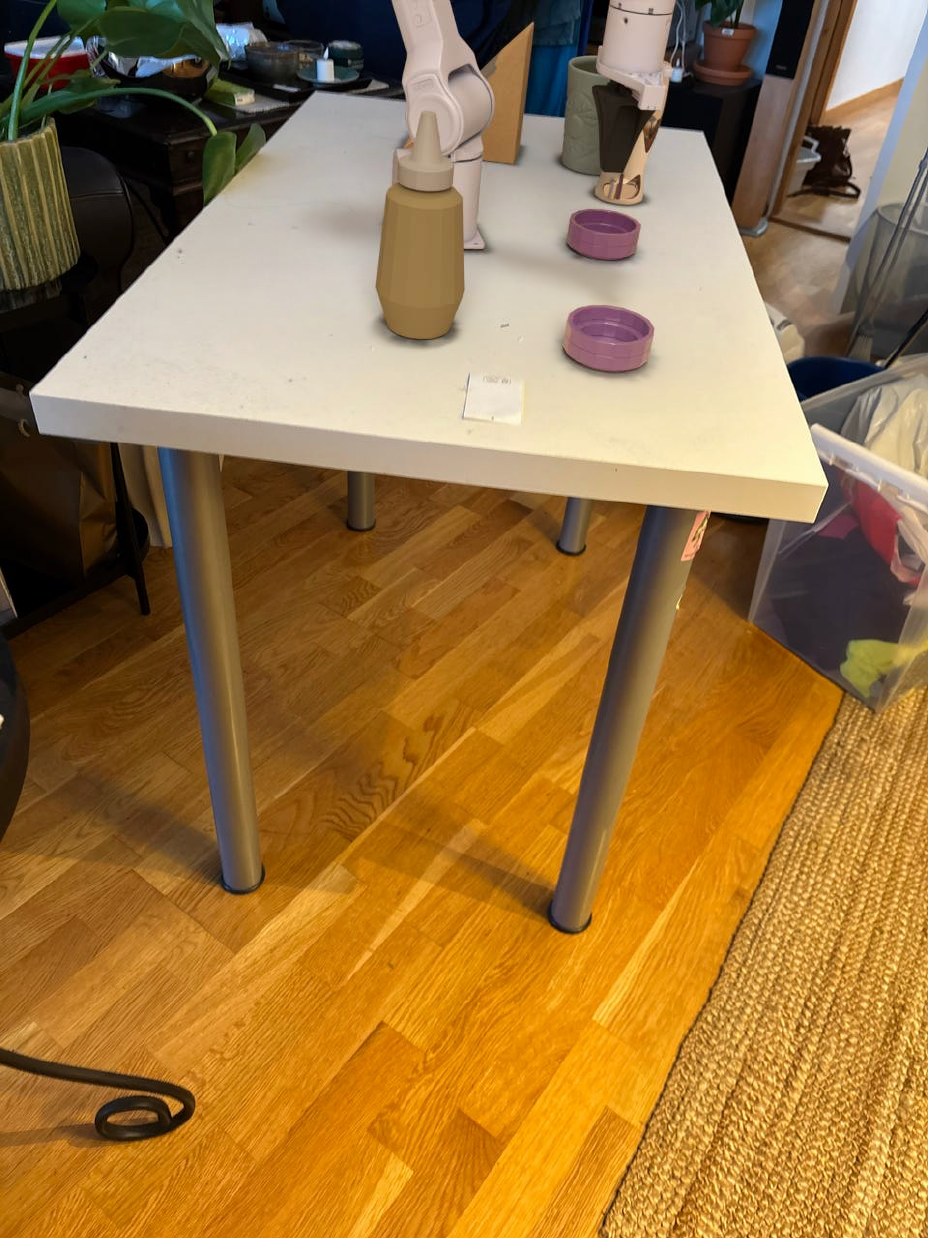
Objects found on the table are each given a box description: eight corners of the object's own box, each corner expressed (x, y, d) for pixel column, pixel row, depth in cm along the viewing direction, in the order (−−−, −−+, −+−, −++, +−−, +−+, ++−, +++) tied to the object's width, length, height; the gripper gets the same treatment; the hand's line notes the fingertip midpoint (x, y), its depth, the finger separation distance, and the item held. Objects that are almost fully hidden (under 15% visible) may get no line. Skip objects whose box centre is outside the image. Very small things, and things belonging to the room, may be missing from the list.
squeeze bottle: (414, 300, 89) (423, 93, 76) (479, 328, 85) (499, 116, 73) (356, 324, 84) (356, 108, 72) (422, 355, 80) (433, 134, 68)
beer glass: (643, 209, 113) (672, 72, 103) (588, 200, 114) (611, 63, 103) (646, 191, 118) (674, 59, 108) (593, 183, 119) (616, 51, 108)
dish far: (576, 262, 99) (581, 234, 97) (558, 235, 104) (562, 208, 102) (644, 263, 100) (650, 235, 98) (622, 235, 106) (628, 209, 104)
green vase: (627, 158, 128) (646, 60, 120) (629, 181, 120) (649, 79, 112) (556, 149, 128) (569, 51, 120) (553, 172, 121) (568, 69, 113)
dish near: (575, 376, 80) (581, 344, 78) (553, 335, 86) (558, 304, 84) (658, 374, 82) (666, 343, 79) (631, 334, 87) (638, 304, 85)
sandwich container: (413, 131, 129) (418, 6, 119) (520, 145, 128) (534, 20, 118) (401, 149, 123) (405, 18, 112) (513, 164, 122) (528, 34, 112)
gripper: (712, 29, 77) (673, 197, 86) (657, -6, 87) (628, 148, 96) (633, 24, 75) (602, 195, 85) (586, -10, 86) (563, 146, 95)
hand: (611, 170), depth 90 cm, fingers closed
